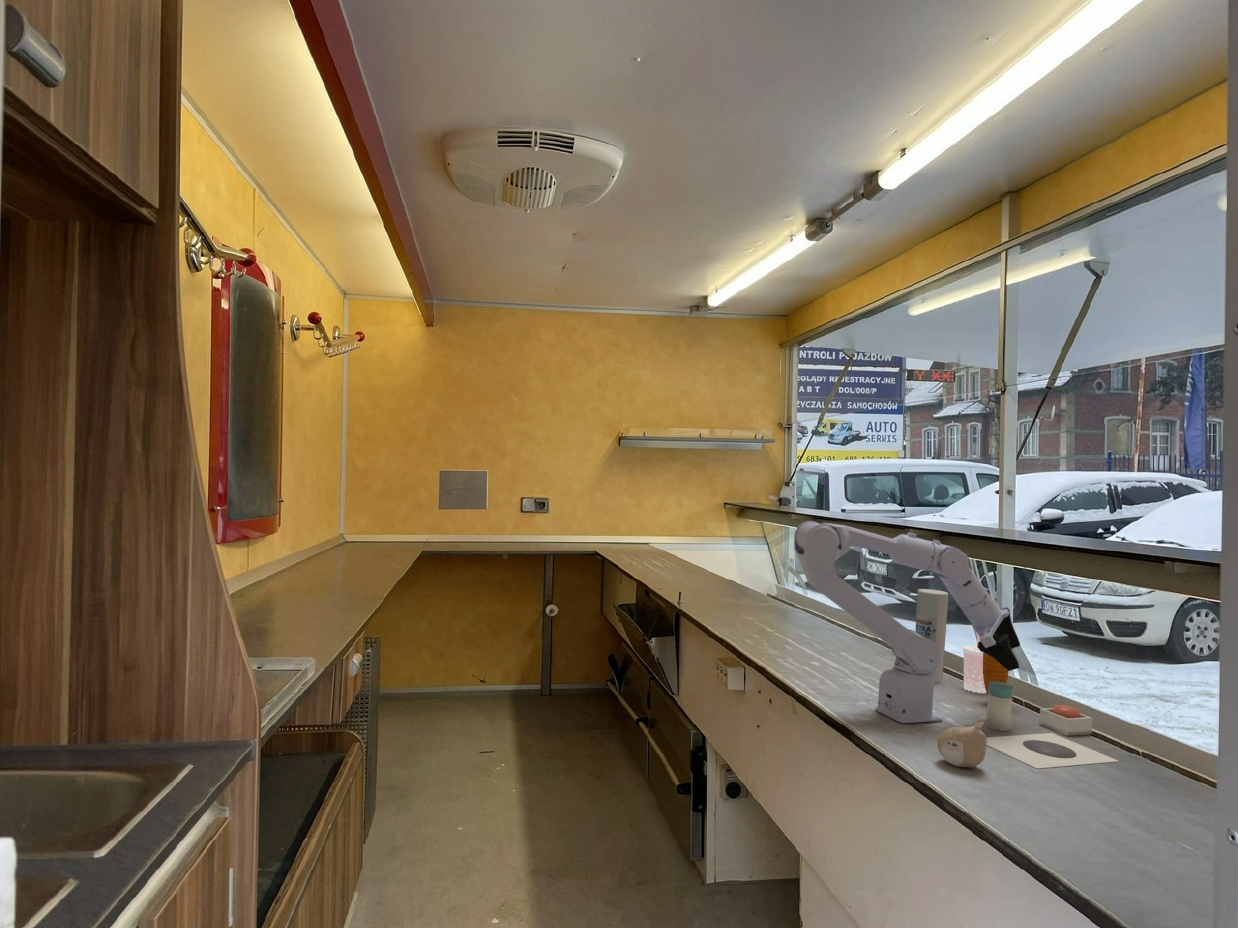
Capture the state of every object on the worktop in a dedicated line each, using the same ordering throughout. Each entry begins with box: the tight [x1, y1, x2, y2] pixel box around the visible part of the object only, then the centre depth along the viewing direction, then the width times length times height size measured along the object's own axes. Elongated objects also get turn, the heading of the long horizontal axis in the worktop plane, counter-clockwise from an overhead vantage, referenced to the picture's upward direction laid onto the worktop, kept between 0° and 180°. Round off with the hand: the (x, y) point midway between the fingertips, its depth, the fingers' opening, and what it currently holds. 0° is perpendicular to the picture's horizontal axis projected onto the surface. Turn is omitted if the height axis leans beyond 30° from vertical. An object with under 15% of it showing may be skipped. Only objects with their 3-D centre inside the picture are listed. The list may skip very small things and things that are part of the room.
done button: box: [1052, 704, 1080, 719], centre depth 140 cm, size 4×4×2 cm
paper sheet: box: [986, 732, 1120, 770], centre depth 128 cm, size 18×13×1 cm
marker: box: [985, 681, 1014, 732], centre depth 139 cm, size 4×4×8 cm
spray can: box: [914, 588, 949, 684], centre depth 171 cm, size 6×6×20 cm
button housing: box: [1038, 707, 1093, 737], centre depth 140 cm, size 6×6×3 cm
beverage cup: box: [962, 634, 987, 694], centre depth 164 cm, size 6×6×14 cm
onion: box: [937, 720, 987, 769], centre depth 119 cm, size 7×6×8 cm
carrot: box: [983, 633, 1010, 696], centre depth 154 cm, size 5×5×15 cm
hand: (1014, 657), depth 142 cm, fingers open, 7 cm apart
